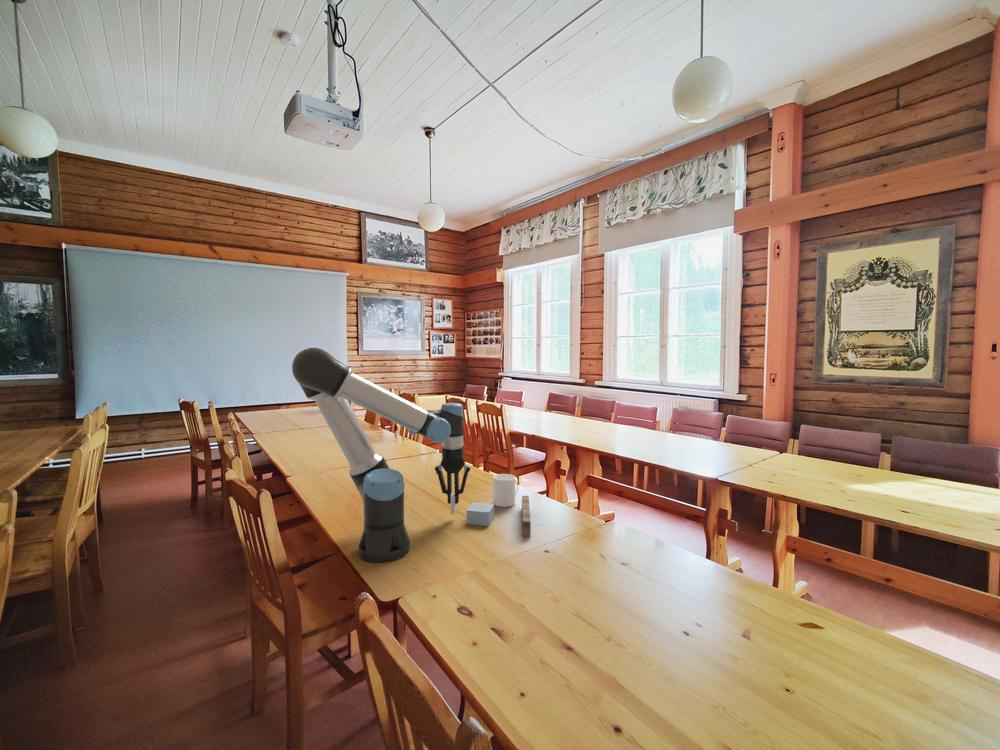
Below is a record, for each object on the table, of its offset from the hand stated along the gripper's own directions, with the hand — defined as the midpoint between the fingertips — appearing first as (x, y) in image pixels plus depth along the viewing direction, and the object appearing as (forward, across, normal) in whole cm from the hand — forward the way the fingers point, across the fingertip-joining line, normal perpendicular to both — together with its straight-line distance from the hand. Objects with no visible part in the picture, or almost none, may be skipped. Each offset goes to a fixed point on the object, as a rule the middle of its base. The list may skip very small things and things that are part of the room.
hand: (453, 512), depth 151 cm
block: (+3, -10, 0) cm, 10 cm away
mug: (+3, -19, -18) cm, 26 cm away
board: (+3, -26, 0) cm, 26 cm away
